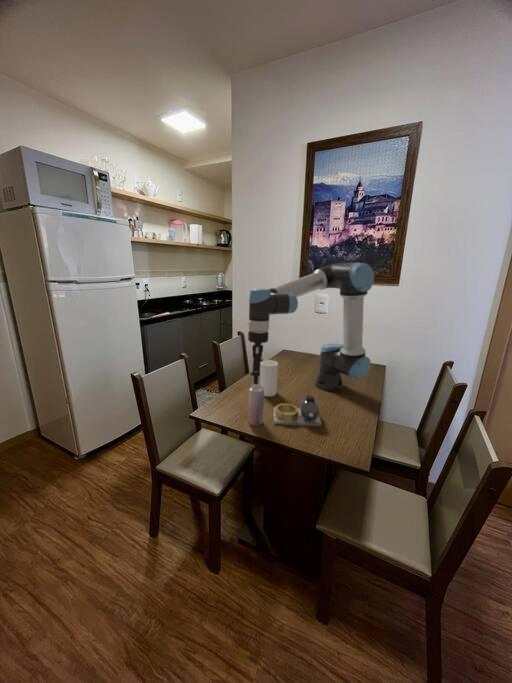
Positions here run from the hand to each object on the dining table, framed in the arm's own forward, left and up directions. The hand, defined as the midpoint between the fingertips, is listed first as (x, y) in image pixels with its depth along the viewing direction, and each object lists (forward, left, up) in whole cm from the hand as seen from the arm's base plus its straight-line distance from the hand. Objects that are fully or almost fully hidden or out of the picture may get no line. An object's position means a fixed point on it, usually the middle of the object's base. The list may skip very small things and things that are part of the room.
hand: (256, 383), depth 108 cm
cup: (-5, -28, -17) cm, 33 cm away
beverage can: (0, 0, -17) cm, 17 cm away
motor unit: (-17, -5, -17) cm, 25 cm away
